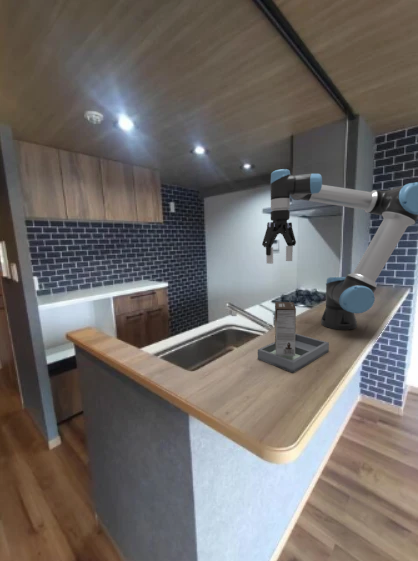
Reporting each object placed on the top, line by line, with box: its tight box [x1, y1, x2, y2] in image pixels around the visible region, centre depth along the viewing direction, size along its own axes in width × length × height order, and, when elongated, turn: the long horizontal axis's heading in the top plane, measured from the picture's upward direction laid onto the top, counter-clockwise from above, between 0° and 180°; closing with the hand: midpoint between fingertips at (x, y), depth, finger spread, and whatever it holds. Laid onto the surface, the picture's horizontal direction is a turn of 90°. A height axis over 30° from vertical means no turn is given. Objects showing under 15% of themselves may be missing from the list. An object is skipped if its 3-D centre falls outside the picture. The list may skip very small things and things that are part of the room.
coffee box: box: [274, 301, 297, 356], centre depth 89 cm, size 9×6×16 cm
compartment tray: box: [257, 332, 330, 374], centre depth 94 cm, size 23×14×4 cm, turn 130°
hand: (279, 262), depth 110 cm, fingers open, 13 cm apart
